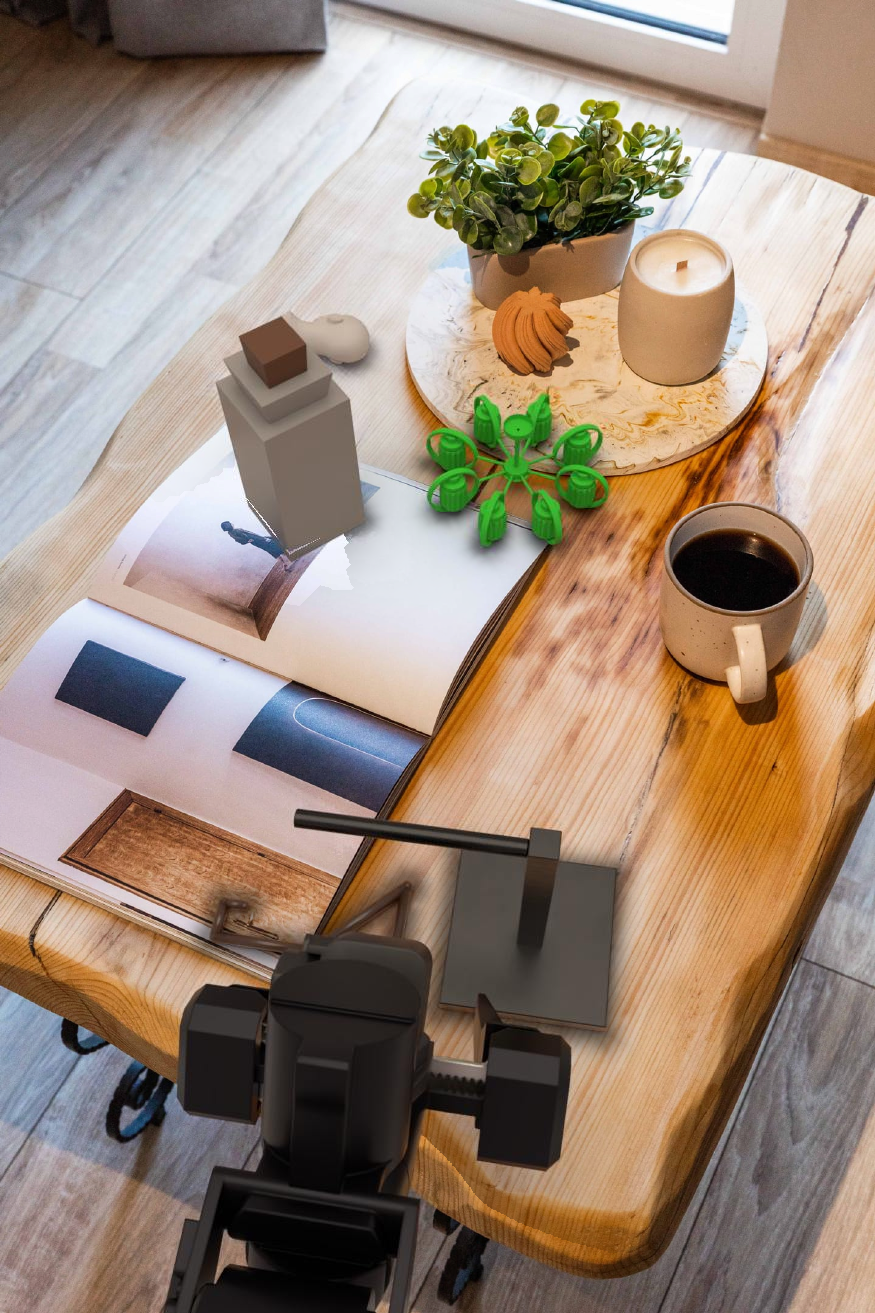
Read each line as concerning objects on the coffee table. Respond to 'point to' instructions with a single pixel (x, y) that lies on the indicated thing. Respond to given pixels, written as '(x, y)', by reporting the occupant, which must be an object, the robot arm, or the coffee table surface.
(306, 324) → the beige rounded piece
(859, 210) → the coffee table surface
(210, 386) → the coffee table surface
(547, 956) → the hook stand
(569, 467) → the chandelier
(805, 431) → the coffee table surface
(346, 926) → the hanger
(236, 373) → the perfume bottle
